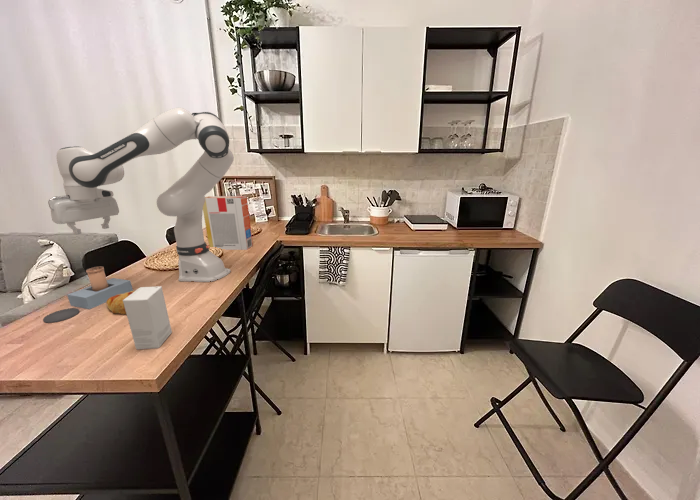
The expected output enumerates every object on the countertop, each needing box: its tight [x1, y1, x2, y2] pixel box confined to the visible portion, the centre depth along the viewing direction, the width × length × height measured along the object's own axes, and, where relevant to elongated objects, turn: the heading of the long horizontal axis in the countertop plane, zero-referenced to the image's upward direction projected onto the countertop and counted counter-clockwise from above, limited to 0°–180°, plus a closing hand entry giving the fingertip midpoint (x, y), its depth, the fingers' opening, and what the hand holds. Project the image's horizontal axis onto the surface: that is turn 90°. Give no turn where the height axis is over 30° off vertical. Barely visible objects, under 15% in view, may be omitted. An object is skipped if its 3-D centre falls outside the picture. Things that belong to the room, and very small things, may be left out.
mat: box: [42, 307, 80, 324], centre depth 101 cm, size 9×9×1 cm
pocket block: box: [66, 277, 134, 310], centre depth 113 cm, size 10×16×4 cm, turn 162°
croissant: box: [105, 290, 136, 315], centre depth 104 cm, size 21×10×8 cm, turn 73°
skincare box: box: [123, 285, 173, 350], centre depth 83 cm, size 8×7×16 cm
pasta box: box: [202, 195, 254, 251], centre depth 172 cm, size 23×8×30 cm, turn 85°
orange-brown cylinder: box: [85, 266, 109, 292], centre depth 112 cm, size 5×5×12 cm
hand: (92, 231), depth 111 cm, fingers open, 8 cm apart
